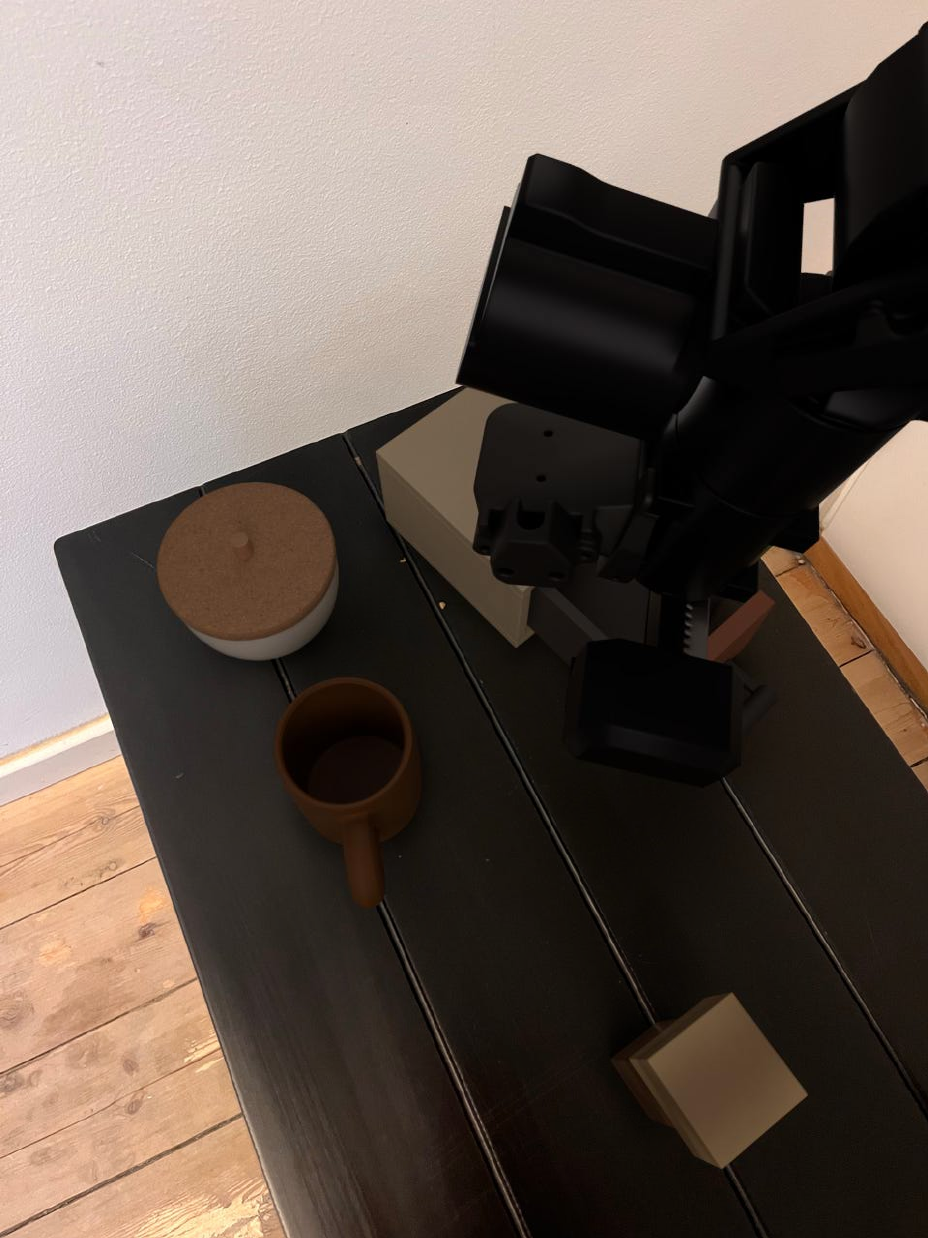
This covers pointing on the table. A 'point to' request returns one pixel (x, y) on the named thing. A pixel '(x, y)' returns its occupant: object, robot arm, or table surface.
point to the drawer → (640, 625)
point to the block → (718, 1079)
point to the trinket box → (251, 570)
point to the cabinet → (450, 505)
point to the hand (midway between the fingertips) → (597, 625)
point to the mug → (351, 772)
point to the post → (634, 1078)
